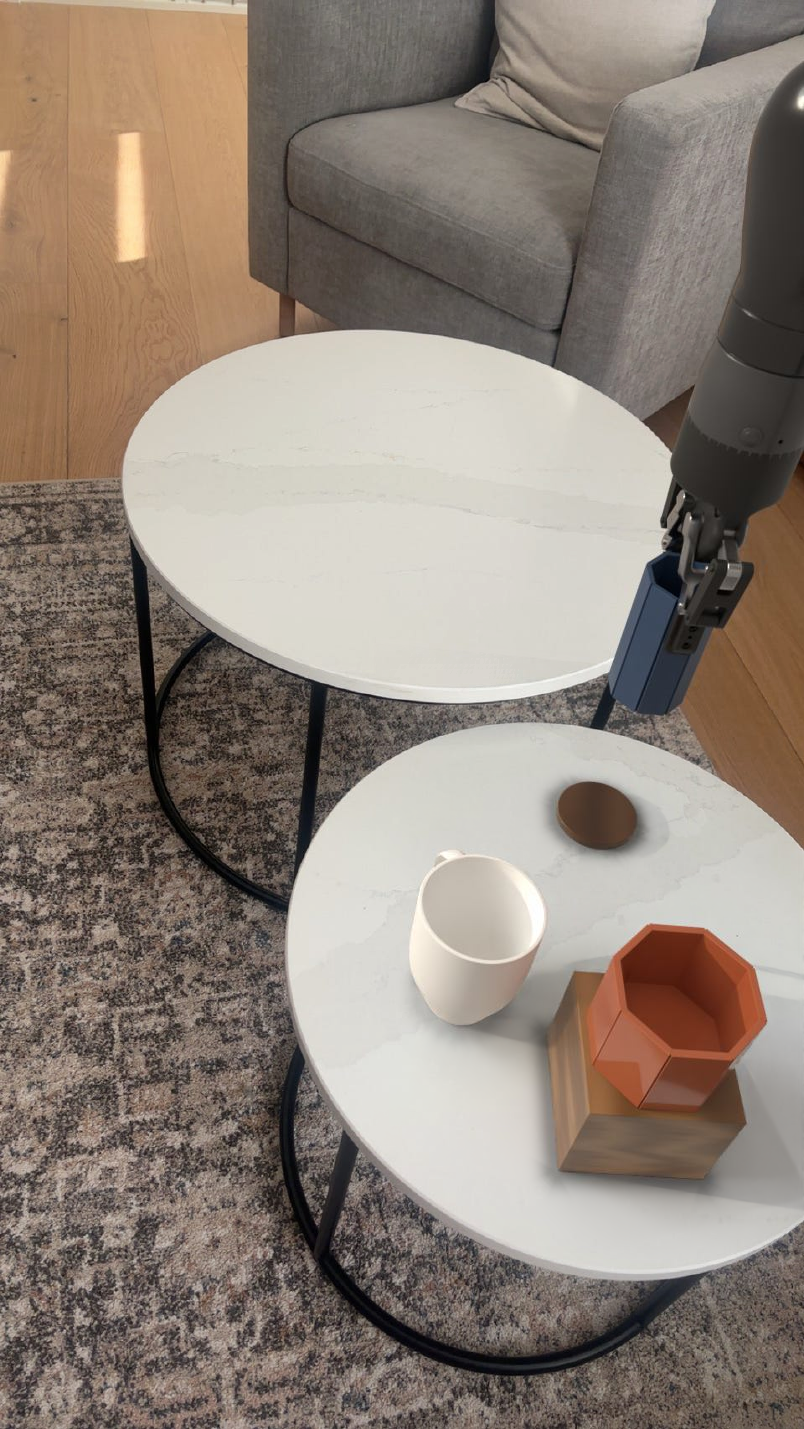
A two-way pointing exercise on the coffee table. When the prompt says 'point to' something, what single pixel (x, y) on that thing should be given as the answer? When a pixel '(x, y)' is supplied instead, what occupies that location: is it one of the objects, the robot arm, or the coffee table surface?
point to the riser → (626, 1109)
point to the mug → (474, 935)
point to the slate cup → (654, 644)
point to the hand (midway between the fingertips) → (671, 621)
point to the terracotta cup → (673, 1017)
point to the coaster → (596, 815)
